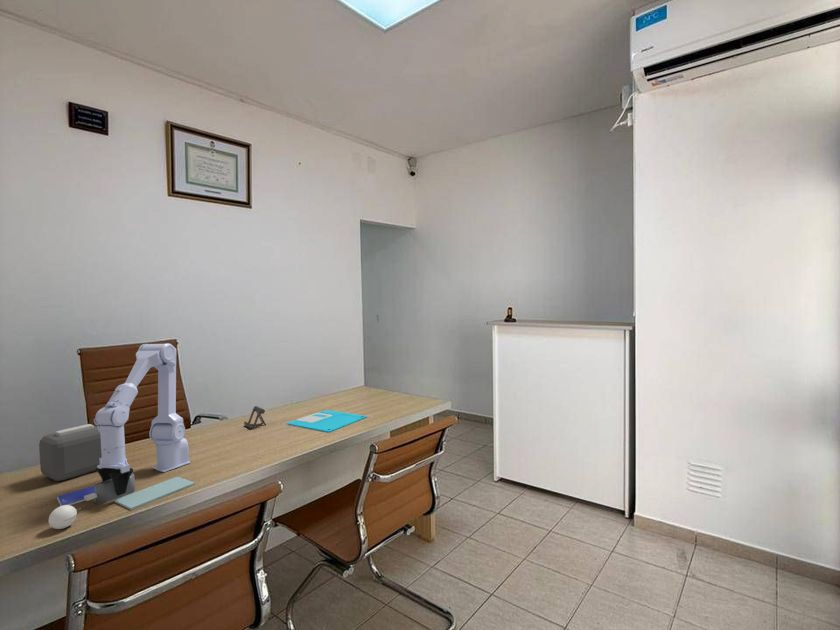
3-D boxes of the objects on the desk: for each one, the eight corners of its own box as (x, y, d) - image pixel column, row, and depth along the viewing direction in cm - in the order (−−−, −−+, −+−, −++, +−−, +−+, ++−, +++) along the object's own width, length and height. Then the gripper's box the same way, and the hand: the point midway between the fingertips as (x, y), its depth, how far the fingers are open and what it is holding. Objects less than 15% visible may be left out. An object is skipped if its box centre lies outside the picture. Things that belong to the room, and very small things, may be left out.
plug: (131, 488, 129) (130, 472, 128) (137, 490, 126) (136, 474, 126) (83, 505, 118) (82, 488, 118) (89, 508, 116) (88, 491, 116)
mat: (177, 478, 135) (177, 476, 135) (195, 484, 130) (194, 482, 130) (114, 502, 119) (114, 500, 119) (131, 510, 114) (131, 508, 114)
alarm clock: (98, 461, 152) (96, 420, 152) (113, 467, 146) (110, 424, 146) (41, 478, 138) (38, 432, 138) (54, 485, 132) (51, 437, 132)
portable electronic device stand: (243, 426, 192) (243, 408, 192) (260, 422, 197) (260, 405, 197) (250, 430, 186) (249, 411, 185) (267, 426, 191) (267, 408, 191)
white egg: (56, 535, 102) (55, 513, 102) (44, 530, 105) (43, 509, 105) (91, 520, 109) (90, 499, 109) (79, 516, 112) (78, 496, 112)
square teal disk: (329, 433, 178) (329, 431, 178) (285, 425, 193) (285, 423, 193) (367, 418, 200) (367, 416, 200) (325, 411, 215) (325, 409, 215)
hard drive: (61, 504, 117) (114, 488, 126) (57, 495, 122) (108, 481, 132) (61, 509, 117) (114, 493, 126) (57, 500, 123) (108, 486, 132)
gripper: (86, 447, 123) (89, 491, 124) (108, 455, 116) (111, 502, 116) (113, 440, 129) (116, 482, 130) (136, 447, 122) (138, 492, 122)
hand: (115, 491), depth 123 cm, fingers open, 6 cm apart
